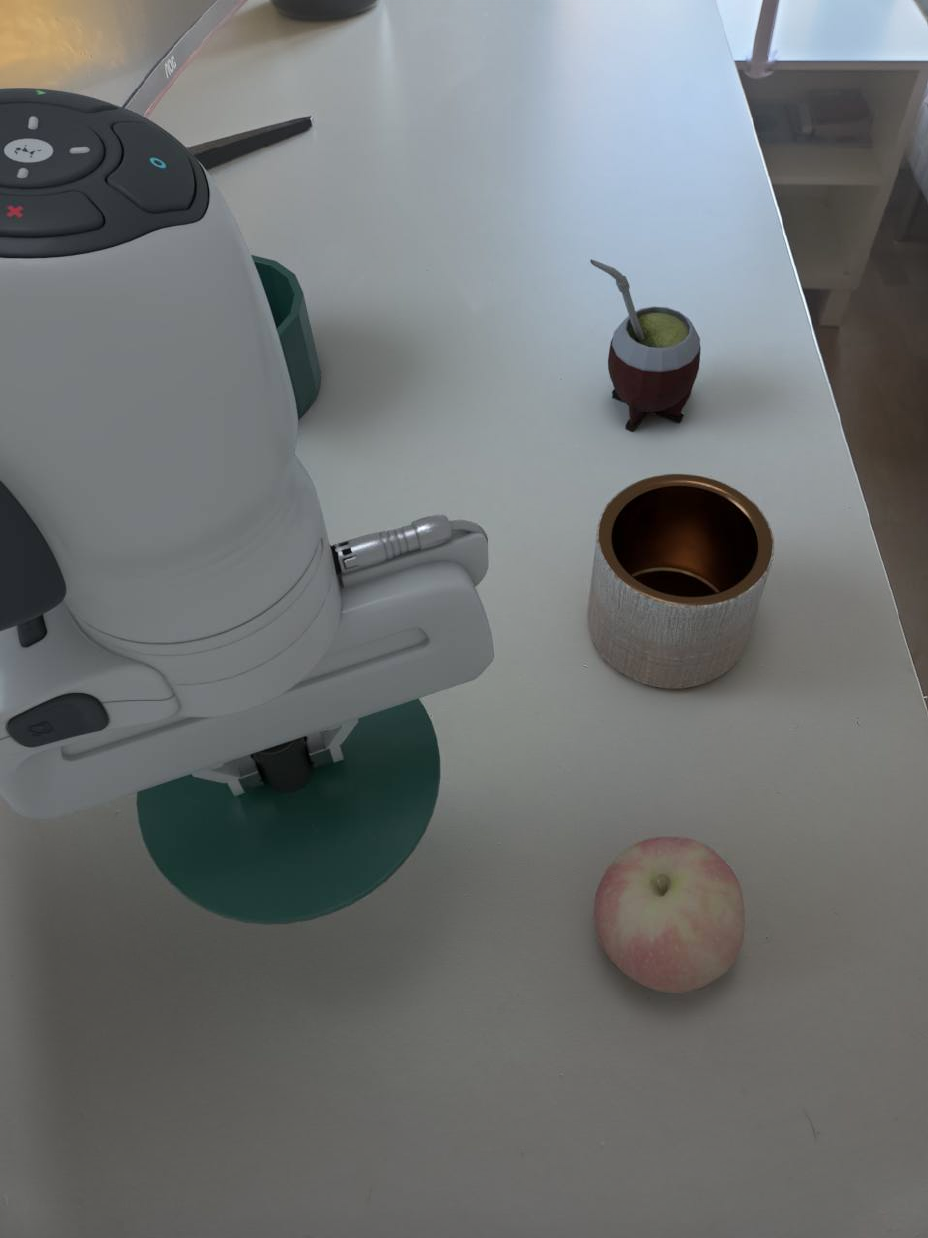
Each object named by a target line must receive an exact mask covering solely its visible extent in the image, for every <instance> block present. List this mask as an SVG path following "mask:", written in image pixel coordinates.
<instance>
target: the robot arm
mask: <svg viewBox="0 0 928 1238" xmlns="http://www.w3.org/2000/svg"><path fill="white" fill-rule="evenodd" d="M251 255H252V254H251V251H250V249H249V246H248V244H247V242H246V240H245V238H244V236H243V233H242V231H241V229H240V227H239V225H238V221H237V219H236V218H235V216H234V214H233V212H232V210H231V208H230V206H229V204H228V202H227V200H226V198H225V197H224V195H223V194H222V191H221V190H220V188H219V187H218V186H217V184H216V182H215V180H214V179H213V177H212V176H211V175H210V173H209V172H208V171H207V169H206V168H205V166H204V165H203V164H202V163H201V162H200V161H199V160H198V158H197V157H195V155H194V154H193V153H192V152H191V151H190V150H189V149H188V148H187V147H186V146H185V145H184V144H183V143H182V142H180V140H179V139H177V138H176V137H175V136H173V135H172V134H171V133H170V132H168V131H167V130H166V129H164V128H162V127H161V126H160V125H158V124H157V123H156V122H154V121H152V120H151V119H149V118H147V117H145V116H143V115H141V114H139V113H137V112H134V111H132V110H131V109H127V108H125V107H123V106H119V105H116V104H113V103H111V102H108V101H105V100H102V99H98V98H97V97H92V96H88V95H85V94H80V93H75V92H69V91H63V90H57V89H56V90H55V89H48V88H47V89H46V88H34V87H33V88H31V87H11V88H9V87H7V88H0V795H1V796H2V798H3V799H4V800H5V801H6V802H7V804H8V805H9V806H10V807H11V808H12V809H13V810H14V811H15V812H16V813H18V814H19V815H20V816H22V817H25V818H30V819H39V820H57V819H61V818H64V817H67V816H70V815H73V814H75V813H78V812H81V811H83V810H84V811H85V810H87V809H90V808H93V807H96V806H100V805H103V804H105V803H109V802H112V801H114V800H118V799H120V798H123V797H126V796H129V795H132V794H137V792H139V791H142V790H145V789H148V788H151V787H154V786H157V785H160V784H163V783H166V782H169V781H172V780H175V779H178V778H181V777H184V776H187V775H190V774H192V775H193V777H197V778H202V779H206V780H211V781H215V782H220V783H227V784H228V786H229V787H230V789H231V791H232V793H233V795H234V796H238V795H240V794H243V793H246V792H249V791H252V790H254V789H257V788H260V787H263V786H265V781H264V778H263V775H262V773H261V771H260V769H259V767H258V765H257V763H256V761H255V759H254V757H253V753H256V752H259V751H262V750H265V749H268V748H271V747H274V746H277V745H280V744H283V743H286V742H289V741H292V740H295V739H298V738H301V737H304V738H305V741H306V747H307V750H308V753H309V756H310V759H311V762H312V764H313V767H314V769H316V768H319V767H322V766H325V765H328V764H331V763H335V762H338V761H341V760H343V759H344V757H343V754H342V751H341V748H340V744H342V743H343V742H344V741H345V739H346V738H347V736H348V735H349V734H350V732H351V731H352V730H353V728H354V727H355V726H356V724H357V723H358V718H361V717H364V716H367V715H370V714H373V713H376V712H379V711H382V710H385V709H388V708H391V707H394V706H397V705H400V704H403V703H406V702H409V701H412V700H415V699H418V698H419V699H421V698H424V697H427V696H430V695H433V694H436V693H439V692H442V691H445V690H448V689H452V688H454V687H457V686H461V685H464V684H466V683H469V682H472V681H474V680H477V679H478V678H479V677H480V676H481V675H483V673H484V672H485V671H486V670H487V669H488V668H489V666H490V665H491V664H492V662H493V661H494V658H495V648H494V641H493V636H492V635H493V634H492V631H491V627H490V622H489V618H488V616H487V613H486V610H485V607H484V604H483V601H482V600H481V597H480V595H479V593H478V590H477V588H476V587H477V586H479V585H480V584H481V582H482V581H483V579H484V578H485V577H486V575H487V574H488V570H489V566H490V565H489V563H490V562H489V538H488V534H487V533H486V531H485V530H484V529H483V527H482V526H481V525H479V523H477V522H474V521H471V520H466V519H455V520H449V518H448V517H447V515H446V514H435V515H430V516H429V515H428V516H426V517H421V518H418V519H416V520H413V521H412V522H411V523H410V524H408V525H404V526H401V527H397V528H395V529H389V530H382V531H379V532H378V531H377V532H373V533H367V534H365V535H361V536H358V537H355V538H351V539H348V540H344V541H341V542H338V543H335V544H331V543H330V540H329V535H328V531H327V527H326V523H325V518H324V514H323V510H322V505H321V501H320V497H319V494H318V491H317V489H316V486H315V484H314V481H313V479H312V478H311V476H310V474H309V473H308V471H307V468H306V467H305V465H304V464H303V463H302V462H301V460H300V459H299V458H298V456H297V455H296V449H297V443H298V434H299V419H298V415H297V408H296V402H295V396H294V392H293V388H292V384H291V380H290V376H289V372H288V368H287V365H286V361H285V357H284V354H283V350H282V346H281V343H280V339H279V335H278V332H277V329H276V326H275V322H274V319H273V316H272V313H271V309H270V306H269V303H268V300H267V297H266V294H265V291H264V288H263V285H262V283H261V280H260V277H259V274H258V271H257V269H256V266H255V264H254V261H253V259H252V256H251ZM333 761H334V762H333Z"/></svg>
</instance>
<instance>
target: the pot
mask: <svg viewBox="0 0 928 1238" xmlns="http://www.w3.org/2000/svg"><path fill="white" fill-rule="evenodd" d="M251 256H252V259H253V261H254V264H255V266H256V269H257V271H258V274H259V277H260V280H261V283H262V285H263V288H264V291H265V294H266V297H267V300H268V303H269V306H270V309H271V313H272V316H273V319H274V322H275V326H276V329H277V332H278V335H279V339H280V343H281V346H282V350H283V354H284V357H285V361H286V365H287V368H288V372H289V376H290V380H291V384H292V388H293V392H294V396H295V402H296V408H297V415H298V420H299V419H300V418H301V417H302V416H304V415H305V413H306V412H308V410H309V409H310V408H311V407H312V405H313V403H314V402H315V400H316V399H317V396H318V394H319V390H320V388H321V379H322V378H321V373H322V370H321V367H320V361H319V357H318V352H317V348H316V344H315V339H314V334H313V329H312V327H311V325H312V324H311V322H310V321H311V320H310V317H309V312H308V308H307V307H308V306H307V303H306V300H305V298H306V297H305V294H304V291H303V289H302V286H301V284H300V282H299V280H298V278H297V275H296V274H295V273H294V272H293V271H291V270H290V269H289V268H287V267H285V266H284V265H283V264H281V263H280V262H278V261H277V260H274V259H270V258H266V257H263V256H258V255H255V254H251Z"/></svg>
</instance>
